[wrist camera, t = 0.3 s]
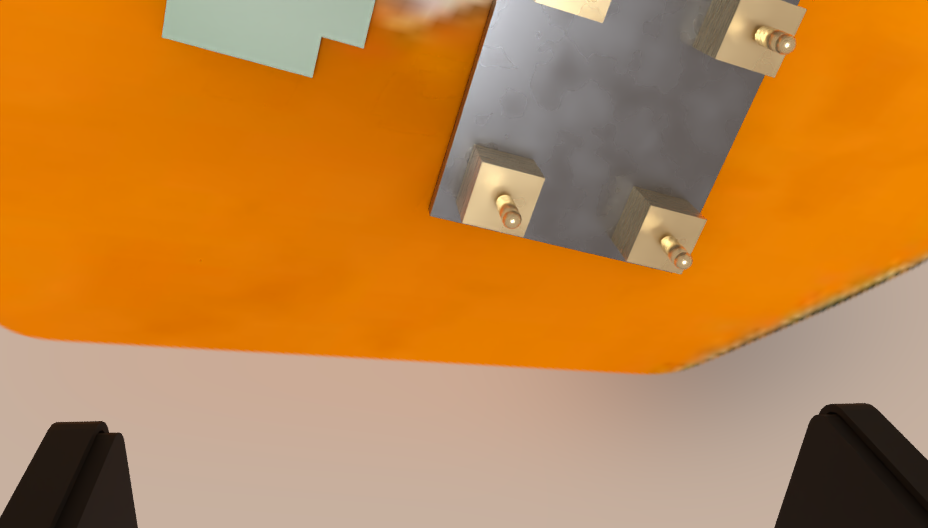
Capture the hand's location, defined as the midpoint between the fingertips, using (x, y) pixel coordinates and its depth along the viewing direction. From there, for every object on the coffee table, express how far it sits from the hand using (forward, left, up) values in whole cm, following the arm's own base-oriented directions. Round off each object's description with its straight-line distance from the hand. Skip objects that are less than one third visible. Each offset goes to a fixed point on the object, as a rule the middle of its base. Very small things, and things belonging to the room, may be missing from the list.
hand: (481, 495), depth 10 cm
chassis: (0, +13, -34) cm, 37 cm away
